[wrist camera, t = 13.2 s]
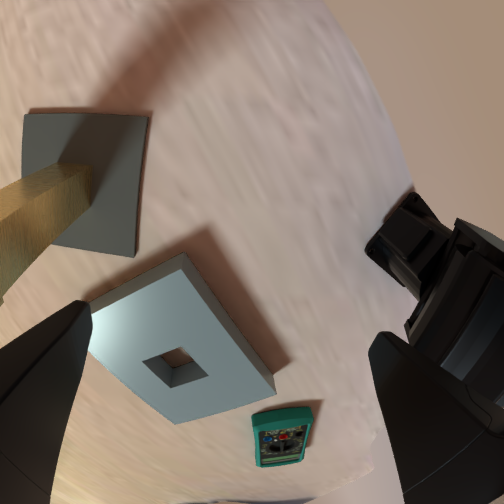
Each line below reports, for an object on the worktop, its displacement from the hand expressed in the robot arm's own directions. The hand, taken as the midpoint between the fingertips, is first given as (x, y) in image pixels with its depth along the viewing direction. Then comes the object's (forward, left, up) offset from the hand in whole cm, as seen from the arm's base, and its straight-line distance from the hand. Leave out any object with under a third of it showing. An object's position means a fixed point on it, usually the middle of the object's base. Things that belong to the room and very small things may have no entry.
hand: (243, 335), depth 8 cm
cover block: (-4, +14, -13) cm, 20 cm away
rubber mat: (+10, +5, -13) cm, 17 cm away
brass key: (+10, +5, -13) cm, 17 cm away
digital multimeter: (-24, +23, -14) cm, 36 cm away
